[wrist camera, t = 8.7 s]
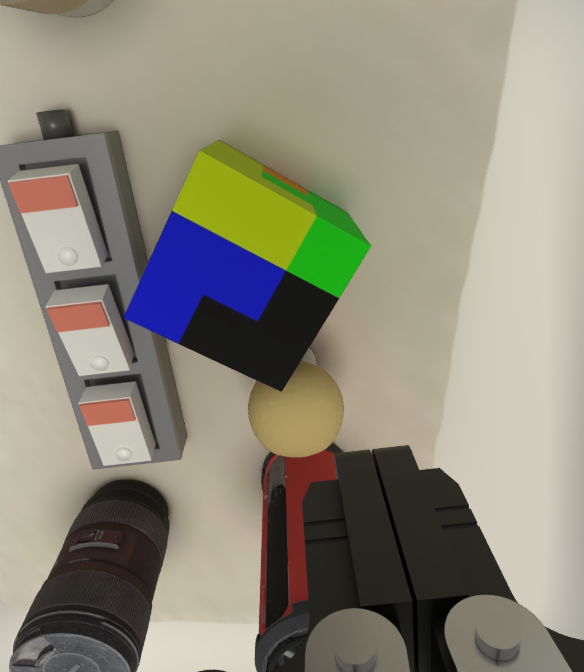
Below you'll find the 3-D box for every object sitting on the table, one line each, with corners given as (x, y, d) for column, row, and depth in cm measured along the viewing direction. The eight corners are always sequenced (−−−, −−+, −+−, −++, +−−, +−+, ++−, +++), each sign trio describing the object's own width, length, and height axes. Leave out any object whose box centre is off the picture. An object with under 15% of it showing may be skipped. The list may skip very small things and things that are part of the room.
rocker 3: (86, 387, 38) (77, 405, 36) (135, 381, 38) (129, 399, 36) (109, 449, 41) (102, 468, 39) (155, 443, 41) (150, 463, 39)
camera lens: (66, 517, 47) (-19, 685, 34) (113, 457, 45) (41, 611, 31) (145, 557, 49) (95, 730, 36) (193, 501, 47) (159, 664, 33)
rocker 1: (19, 170, 32) (5, 182, 30) (78, 163, 32) (67, 174, 30) (54, 260, 35) (44, 275, 34) (108, 254, 35) (100, 268, 33)
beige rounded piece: (332, 321, 40) (350, 389, 31) (332, 392, 43) (348, 474, 34) (248, 324, 40) (242, 394, 31) (253, 396, 43) (249, 479, 34)
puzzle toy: (159, 268, 39) (122, 317, 29) (219, 140, 35) (199, 150, 26) (280, 328, 41) (281, 392, 31) (347, 212, 37) (371, 245, 28)
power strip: (5, 117, 34) (-20, 118, 31) (112, 104, 34) (96, 104, 31) (104, 445, 44) (92, 469, 41) (187, 436, 44) (180, 459, 41)
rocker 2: (54, 290, 35) (44, 308, 33) (108, 284, 35) (101, 302, 33) (85, 359, 38) (77, 378, 37) (134, 353, 38) (129, 372, 37)
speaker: (301, 419, 44) (316, 605, 27) (368, 466, 46) (420, 667, 30) (243, 477, 46) (226, 683, 30) (310, 520, 48) (328, 735, 32)
